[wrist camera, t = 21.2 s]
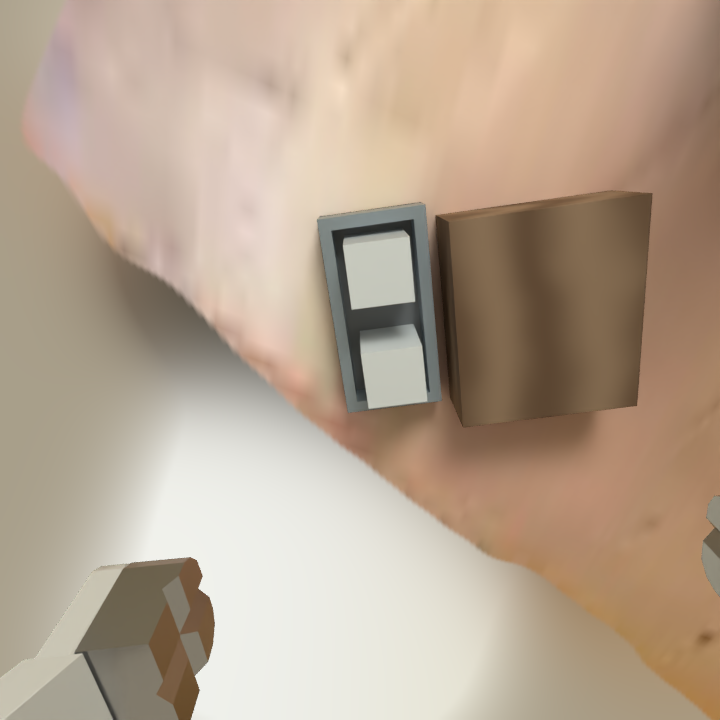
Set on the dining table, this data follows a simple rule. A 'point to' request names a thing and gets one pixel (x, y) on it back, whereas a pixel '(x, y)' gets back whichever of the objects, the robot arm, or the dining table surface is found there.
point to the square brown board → (544, 305)
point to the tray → (381, 316)
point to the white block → (379, 268)
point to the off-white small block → (393, 366)
